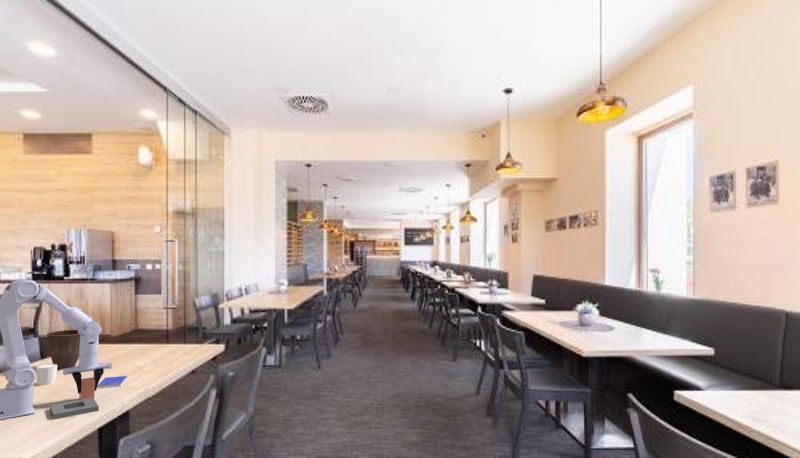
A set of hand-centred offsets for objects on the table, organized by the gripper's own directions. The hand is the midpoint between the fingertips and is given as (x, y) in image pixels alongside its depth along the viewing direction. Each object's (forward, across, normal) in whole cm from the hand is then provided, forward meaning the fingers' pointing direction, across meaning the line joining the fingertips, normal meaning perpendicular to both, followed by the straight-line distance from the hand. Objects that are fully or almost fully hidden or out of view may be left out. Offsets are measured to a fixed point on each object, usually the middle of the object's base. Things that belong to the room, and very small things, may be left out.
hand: (87, 391), depth 162 cm
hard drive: (+3, +11, +17) cm, 21 cm away
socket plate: (+3, -5, -11) cm, 12 cm away
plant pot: (+3, 0, +60) cm, 60 cm away
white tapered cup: (+3, -9, +34) cm, 35 cm away
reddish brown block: (+3, 0, 0) cm, 3 cm away
